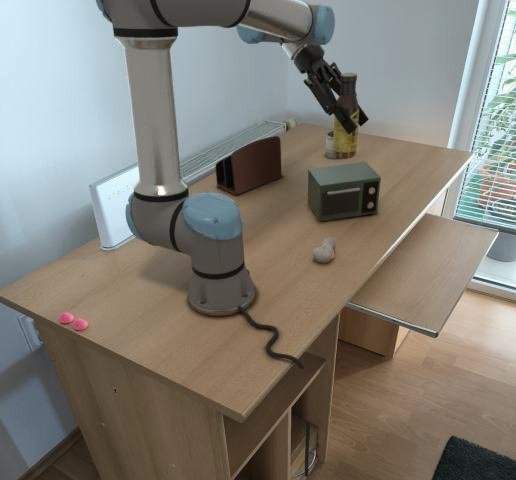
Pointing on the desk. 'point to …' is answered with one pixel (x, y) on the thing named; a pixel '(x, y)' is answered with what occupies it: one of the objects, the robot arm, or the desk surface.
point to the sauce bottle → (342, 141)
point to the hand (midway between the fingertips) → (358, 126)
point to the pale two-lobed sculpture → (325, 251)
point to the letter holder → (250, 166)
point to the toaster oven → (343, 191)
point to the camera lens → (330, 144)
